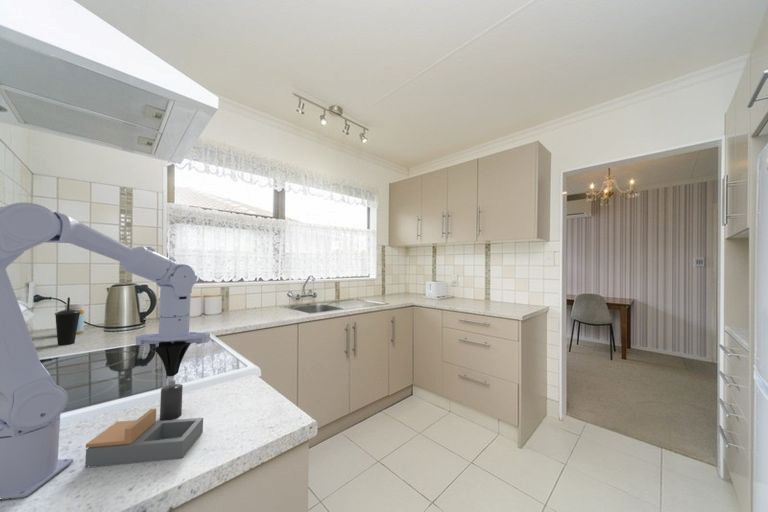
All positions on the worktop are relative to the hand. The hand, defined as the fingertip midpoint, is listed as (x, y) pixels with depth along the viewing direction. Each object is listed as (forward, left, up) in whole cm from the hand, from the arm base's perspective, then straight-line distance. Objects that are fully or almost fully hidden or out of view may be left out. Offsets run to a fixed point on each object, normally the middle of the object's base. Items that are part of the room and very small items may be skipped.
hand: (172, 374), depth 65 cm
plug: (0, 0, -10) cm, 10 cm away
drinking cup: (-77, +72, -10) cm, 106 cm away
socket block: (+2, -12, -10) cm, 15 cm away
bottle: (-90, +92, -10) cm, 129 cm away
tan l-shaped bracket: (-2, -12, -6) cm, 14 cm away
